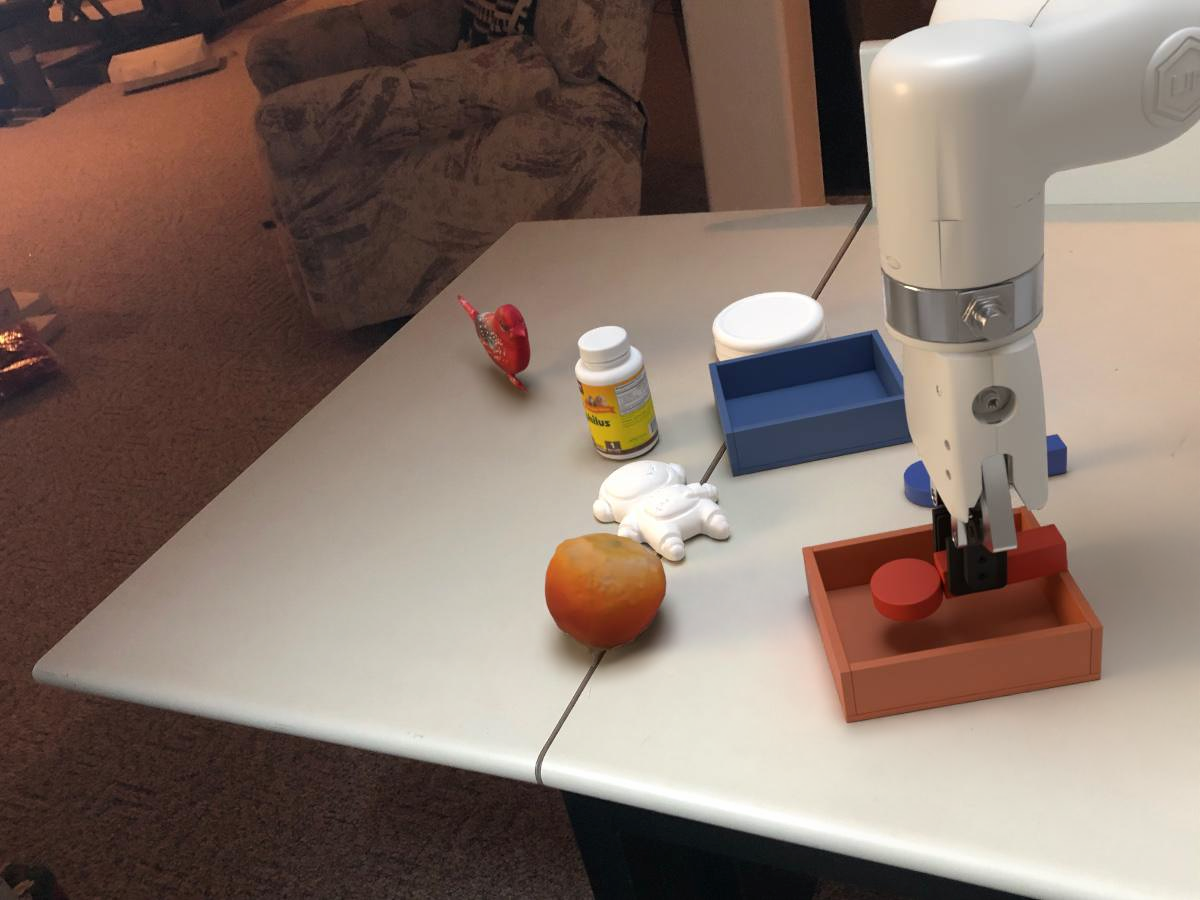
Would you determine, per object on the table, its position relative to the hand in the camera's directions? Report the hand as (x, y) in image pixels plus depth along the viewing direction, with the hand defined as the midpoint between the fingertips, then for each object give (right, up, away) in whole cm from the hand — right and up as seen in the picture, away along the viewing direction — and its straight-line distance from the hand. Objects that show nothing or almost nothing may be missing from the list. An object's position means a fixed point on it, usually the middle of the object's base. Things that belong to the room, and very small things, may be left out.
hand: (970, 572), depth 63 cm
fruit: (-20, -5, +9) cm, 23 cm away
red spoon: (0, -1, 0) cm, 1 cm away
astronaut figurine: (-17, +2, +18) cm, 25 cm away
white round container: (-6, +16, +36) cm, 40 cm away
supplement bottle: (-19, +7, +28) cm, 35 cm away
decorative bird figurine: (-30, +14, +42) cm, 54 cm away
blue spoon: (+6, +5, +14) cm, 16 cm away
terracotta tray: (-1, -4, +3) cm, 5 cm away
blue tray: (-4, +9, +25) cm, 27 cm away
